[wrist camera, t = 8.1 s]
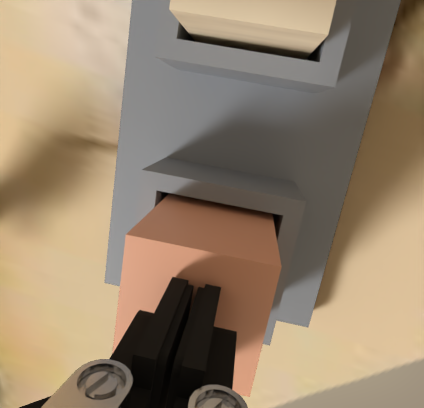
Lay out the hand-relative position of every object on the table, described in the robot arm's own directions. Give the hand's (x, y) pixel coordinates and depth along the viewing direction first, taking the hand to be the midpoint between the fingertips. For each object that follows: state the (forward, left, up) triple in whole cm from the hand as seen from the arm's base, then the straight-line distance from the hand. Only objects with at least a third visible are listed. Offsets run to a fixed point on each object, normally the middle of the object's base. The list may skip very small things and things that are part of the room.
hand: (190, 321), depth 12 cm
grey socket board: (-6, 0, -11) cm, 12 cm away
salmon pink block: (0, 0, -7) cm, 7 cm away
